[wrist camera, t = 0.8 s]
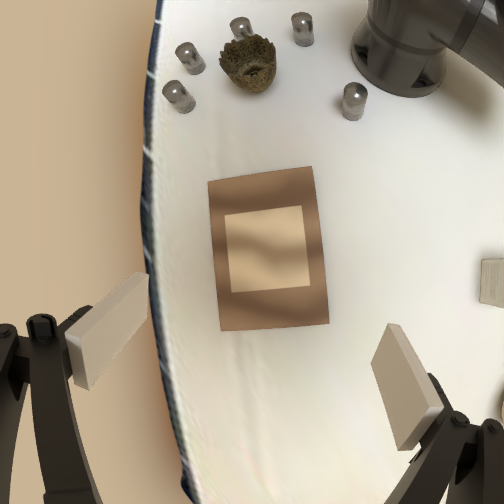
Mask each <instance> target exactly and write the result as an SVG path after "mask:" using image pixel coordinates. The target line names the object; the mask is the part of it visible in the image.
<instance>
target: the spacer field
mask: <svg viewBox="0 0 504 504" xmlns="http://www.w3.org/2000/svg"><path fill="white" fill-rule="evenodd" d="M291 19H292V25H293V31H294V37H295V42H296V44H298V45H299V46H302V47H307V46H310V45H312V44H313V42H314V35H313V24H312V17H311V15H310V14H308V13H305V12H299V13H296V14H294V15H293V16H292V18H291ZM230 27H231V30H232V32H233V34H234V37H235V39H236V41H237V42H238V41H239V40H244V36H245V35H249V36H252V35H254V33H253V30H252V27H251V24H250V21H249V19H248V18H245V17H238V18H236V19H234V20H232V21H231V23H230ZM175 54H176V56H177V57H178V58H179V60H180V61H181V62H182V64H183V65H184V66H185V68H186V69H187V70H188V72H189V73H190V74H192V75H197V74H200V73H201V72H203V71H204V69H205V66H206V65H205V63H204V61H203V60H202V58H201V56H200V55H199V53H198V52H197V50H196V48H195V47H194V45H193V44H192V43H190V42H186V43H183V44H181V45H179V46H178V47H177V49H176V51H175ZM162 93H163V95H164V96H165V97H166V98H167V99H168V101H169V102H170V103H171V104H172V105H173V106H174V107H175V108H176V109H177V110H178V111H179V112H180V113H183V114H185V113H189V112H190V111H192V110H193V109H194V107H195V100H194V99H193V97H192V96H191V95H190V94H189V92H188V91H187V90H186V89H185V87H184V86H183V85H182V84H181V83H180V81H178V80H172V81H170V82H168V83H167V84H166V85H165V86H164V87H163V90H162ZM367 95H368V92H367V89H366V88H365V87H364V86H363V85H362V84H360V83H356V82H352V83H349V84H347V85H346V86H345V88H344V95H343V104H342V114H343V116H344V117H345V118H346V119H348V120H351V121H357V120H359V119H360V118H361V117H362V115H363V111H364V107H365V103H366V99H367Z"/></svg>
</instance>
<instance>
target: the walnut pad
mask: <svg viewBox="0 0 504 504" xmlns="http://www.w3.org/2000/svg"><path fill="white" fill-rule="evenodd" d="M208 193H209V207H210V220H211V233H212V244H213V256H214V267H215V277H216V288H217V298H218V307H219V317H220V326H221V331H237V330H256V329H272V328H286V327H299V326H310V325H321V324H329V311H328V299H327V287H326V276H325V266H324V256H323V247H322V238H321V230H320V222H319V214H318V206H317V199H316V192H315V185H314V178H313V171H312V166H308V167H300V168H293V169H285V170H278V171H271V172H264V173H257V174H251V175H245V176H238V177H232V178H227V179H221V180H215V181H210V182H208Z"/></svg>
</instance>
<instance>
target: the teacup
mask: <svg viewBox="0 0 504 504" xmlns="http://www.w3.org/2000/svg"><path fill="white" fill-rule="evenodd" d="M502 420H503V423H504V402H503V406H502Z"/></svg>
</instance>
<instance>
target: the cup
mask: <svg viewBox="0 0 504 504" xmlns="http://www.w3.org/2000/svg"><path fill="white" fill-rule="evenodd" d="M220 55H221V57H222V58H219V61H220V63H219V64H220V66H221V67H222V69H223V70H224V71H225V73H226V74H227V75H228V76H229V78H230V79H231V80H232V81H233V82H234V83H235V84H236V85H237V86H239V87H240V88H242V89H245V90H250V91H253V92H260V91H263V90H265V89H266V88H267V87H268V85H269V84H270V83H271V82H272V81H273V79H274V77H275V74H276V50H275V46H274V45H273V43H269V41H268V39H267V38H265V39H263V38H262V37H261V36H259V35H257V34H254V35H252V36H249V35H245V36H244V40H239V41H238V42H237V41H235V40H234V39H233V40H232V41H231V43H226V44H225V46H224V52H223V51H220Z"/></svg>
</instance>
